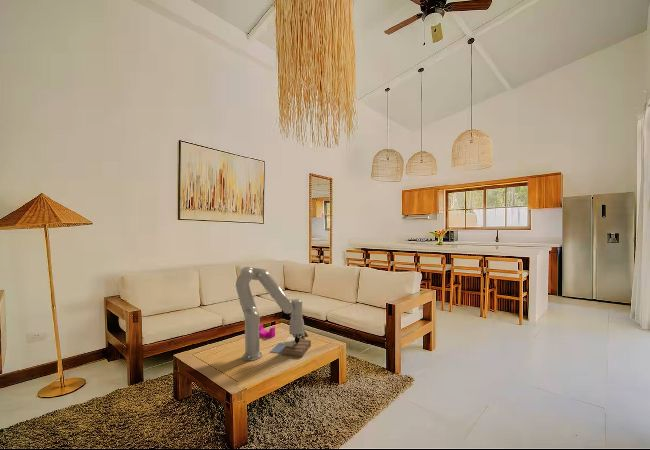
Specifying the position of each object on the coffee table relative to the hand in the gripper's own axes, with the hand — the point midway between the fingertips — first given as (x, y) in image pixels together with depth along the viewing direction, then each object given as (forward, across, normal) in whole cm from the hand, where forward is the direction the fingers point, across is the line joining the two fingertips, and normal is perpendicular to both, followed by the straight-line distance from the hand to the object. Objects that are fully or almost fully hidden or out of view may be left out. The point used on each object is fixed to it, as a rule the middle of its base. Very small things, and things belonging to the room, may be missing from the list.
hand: (297, 342), depth 215 cm
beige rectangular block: (0, -5, 0) cm, 5 cm away
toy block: (+6, -34, +18) cm, 39 cm away
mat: (+5, -12, 0) cm, 13 cm away
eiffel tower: (+6, -6, +23) cm, 24 cm away
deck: (+5, 0, 0) cm, 5 cm away
